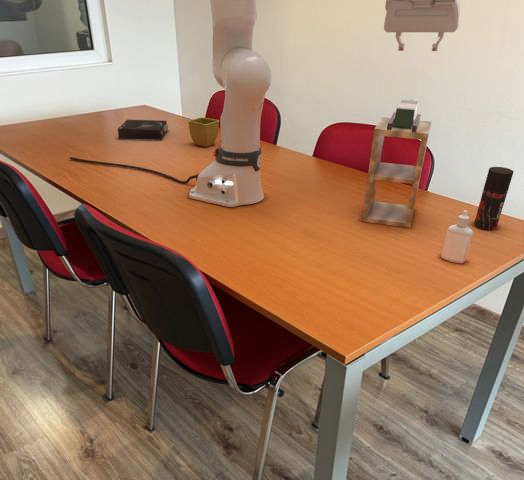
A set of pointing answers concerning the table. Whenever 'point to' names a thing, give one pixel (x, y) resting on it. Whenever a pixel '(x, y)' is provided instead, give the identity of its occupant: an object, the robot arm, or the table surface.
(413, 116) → the bottle
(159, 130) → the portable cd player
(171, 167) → the table surface
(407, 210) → the bottle rack
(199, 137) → the flower pot
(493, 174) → the deodorant
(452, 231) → the eye dropper bottle
